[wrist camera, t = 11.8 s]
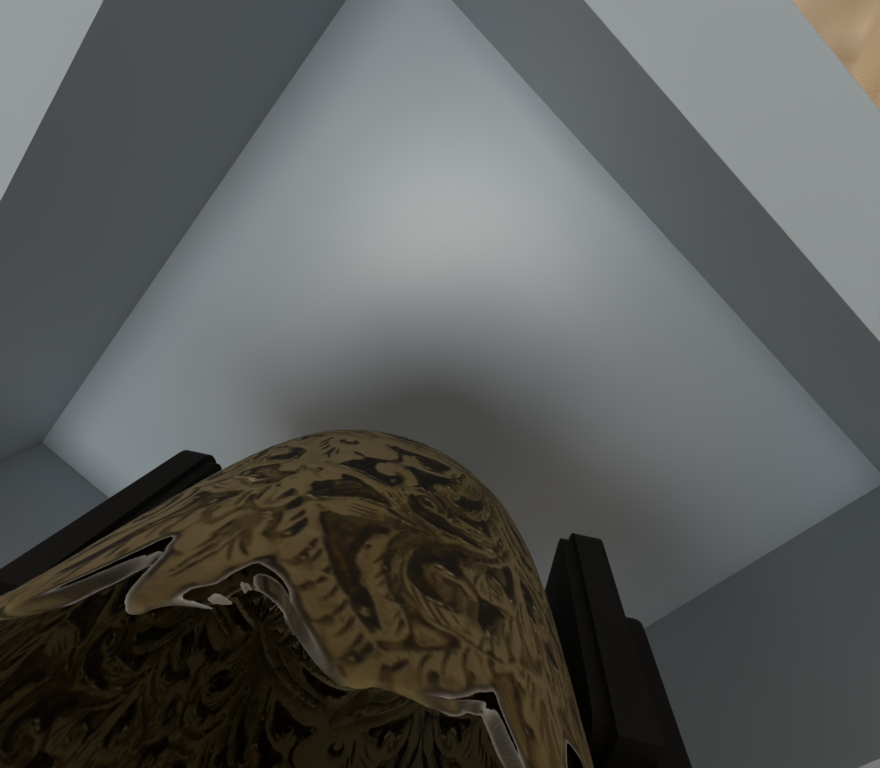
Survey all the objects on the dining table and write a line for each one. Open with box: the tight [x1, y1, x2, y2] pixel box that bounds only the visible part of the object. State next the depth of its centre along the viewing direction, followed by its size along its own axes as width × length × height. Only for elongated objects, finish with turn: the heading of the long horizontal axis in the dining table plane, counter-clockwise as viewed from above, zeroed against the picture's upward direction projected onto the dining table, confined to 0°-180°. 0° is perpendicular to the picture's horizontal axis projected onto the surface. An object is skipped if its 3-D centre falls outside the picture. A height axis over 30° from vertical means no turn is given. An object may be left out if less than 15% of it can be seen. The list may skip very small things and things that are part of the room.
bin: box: [0, 0, 880, 768], centre depth 11 cm, size 20×20×6 cm
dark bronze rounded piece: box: [0, 430, 594, 768], centre depth 8 cm, size 8×7×8 cm
